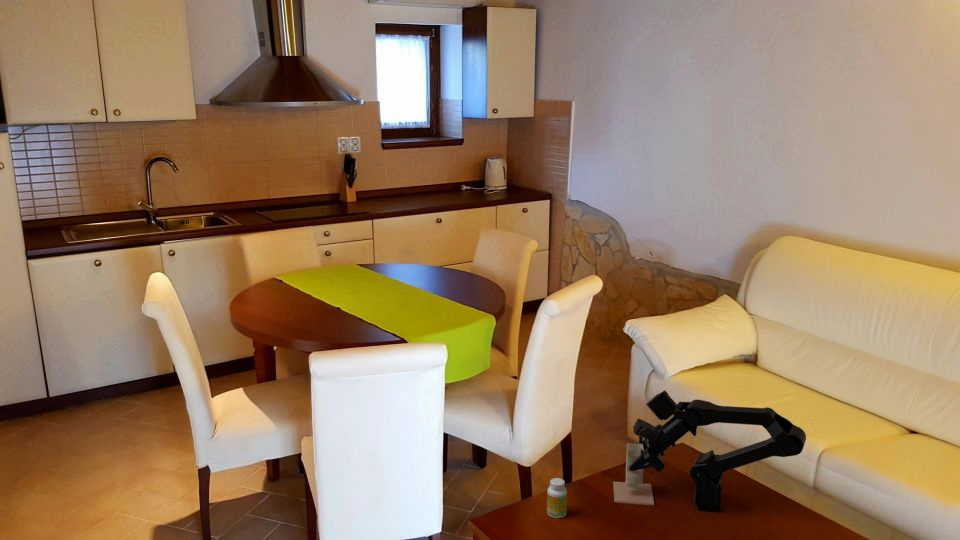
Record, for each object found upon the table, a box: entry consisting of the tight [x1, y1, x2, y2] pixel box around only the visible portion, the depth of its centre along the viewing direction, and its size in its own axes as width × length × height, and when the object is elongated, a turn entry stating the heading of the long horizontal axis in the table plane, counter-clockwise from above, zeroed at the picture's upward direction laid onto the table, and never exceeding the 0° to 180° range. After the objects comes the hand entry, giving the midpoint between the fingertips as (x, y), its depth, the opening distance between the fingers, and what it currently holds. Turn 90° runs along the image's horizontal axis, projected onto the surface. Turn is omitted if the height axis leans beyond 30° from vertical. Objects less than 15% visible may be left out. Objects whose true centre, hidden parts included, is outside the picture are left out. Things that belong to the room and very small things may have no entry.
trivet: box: [612, 481, 655, 506], centre depth 210 cm, size 11×11×1 cm
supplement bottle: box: [546, 477, 568, 519], centre depth 199 cm, size 5×5×10 cm
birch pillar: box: [624, 442, 644, 491], centre depth 208 cm, size 4×4×12 cm
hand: (629, 465), depth 208 cm, fingers closed on birch pillar, 4 cm apart
